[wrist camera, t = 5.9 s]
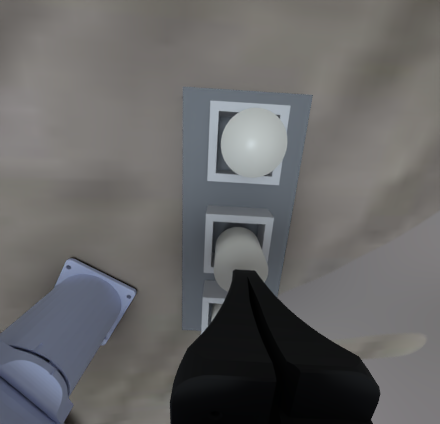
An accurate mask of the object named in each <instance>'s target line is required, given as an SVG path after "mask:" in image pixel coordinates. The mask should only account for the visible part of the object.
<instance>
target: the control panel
mask: <svg viewBox="0 0 440 424" xmlns="http://www.w3.org/2000/svg"><path fill="white" fill-rule="evenodd" d="M312 96H313V95H304V94H288V93H273V92H257V91H242V90H226V89H211V88H195V87H183V235H182V330H197V331H201V334H202V333H203V332H204V330H205V329H206V328H207V327H208V326H209V324H210V323H211V319H212V303H216V304H223V302H224V300H225V298H226V296H227V294H228V292H227V291H226V290H224V289H223V288H221V287H220V286H219V284H218V283H217V281H216V279H215V276H214V261H215V246H216V241H217V239H218V237H219V235H220V234H221V233H222V232H224V231H225V230H227V229H229V228H232V227H243V228H246V229H249V230H250V231H252V232H253V233H254V234H255V235H256V237H257V239H258V241H259V244H260V246H261V249H262V251H263V254H264V257H265V259H266V262H267V265H268V276H267V279H266V281H265V282H264V283H265V284H266V285H267V287H268V288H269V289H270V290H271V291H272V292H273V294H274V295H275V296H276V297H277V296H278V291H279V285H280V279H281V273H282V268H283V262H284V256H285V251H286V245H287V239H288V233H289V228H290V222H291V216H292V211H293V205H294V199H295V193H296V188H297V182H298V176H299V171H300V165H301V159H302V153H303V148H304V142H305V136H306V131H307V125H308V119H309V113H310V108H311V102H312ZM249 108H263V109H266V110H269V111H271V112H272V113H274V114H275V115H276V116H278V118H279V119H280V120H281V121H282V123H283V125H284V127H285V129H286V133H287V149H286V153H285V156H284V158H283V160H282V161H281V163H280V164H279V165H278V166H277V167H276V168H275V169H274V170H273V171H272V172H270V173H269V174H267V175H264V176H261V177H256V178H249V177H244V176H241V175H239V174H237V173H235V172H234V171H233V170H231V169H230V168H229V166H228V165H227V164H226V162H225V160H224V158H223V155H222V151H221V138H222V134H223V131H224V129H225V127H226V125H227V123H228V122H229V121H230V119H231V118H232V117H233V116H235V115H236V114H237V113H239V112H241V111H243V110H245V109H249Z"/></svg>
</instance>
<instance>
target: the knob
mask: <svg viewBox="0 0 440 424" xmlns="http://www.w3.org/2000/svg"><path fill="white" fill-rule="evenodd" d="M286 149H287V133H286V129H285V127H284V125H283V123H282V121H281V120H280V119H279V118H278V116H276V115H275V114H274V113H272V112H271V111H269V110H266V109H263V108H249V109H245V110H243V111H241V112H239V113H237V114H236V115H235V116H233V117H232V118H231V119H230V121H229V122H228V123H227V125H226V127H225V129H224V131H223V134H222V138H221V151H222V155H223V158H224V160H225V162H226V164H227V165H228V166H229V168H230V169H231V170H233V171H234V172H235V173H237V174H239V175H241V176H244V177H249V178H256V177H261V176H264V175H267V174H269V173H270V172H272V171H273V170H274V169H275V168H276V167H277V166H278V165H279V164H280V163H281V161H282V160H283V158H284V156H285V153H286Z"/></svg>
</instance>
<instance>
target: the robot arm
mask: <svg viewBox="0 0 440 424" xmlns="http://www.w3.org/2000/svg"><path fill="white" fill-rule="evenodd" d="M70 266H71V267H70ZM136 293H137V292H136V290H135V289H134V288H132V287H130V286H128V285H126V284H124V283H122V282H120V281H118V280H116V279H114V278H112V277H110V276H108V275H106V274H104V273H102V272H100V271H98V270H96V269H94V268H92V267H90V266H88V265H86V264H84V263H82V262H80V261H78V260H76V259H74V258H70V259H68V260H67V261H66V263H65V265H64V267H63V269H62V271H61V273H60V276H59V278H58V280H57V282H56V284H55V287H54V289H53V290H52V291H50V292H49V293H48V294H47V295H46V296H44V297H43V298H42V299H41V300H40V301H38V302H37V303H36V304H35V305H34V306H33V307H31V308H30V309H29V310H28V311H27V312H25V313H24V314H23V315H22V316H21V317H19V318H18V319H17V320H16V321H15V322H14V323H12V324H11V325H10V326H9V327H8V328H6V329H5V330H4V331H3V332H2V333H0V424H65V423H64V421H65V420H66V418H67V416H68V414H69V413H70V411H71V409H72V407H73V403H72V402H71V401H70V399H69V396H70V394H71V393H72V391H73V389H74V388H75V386H76V384H77V383H78V381H79V380H80V378H81V376H82V375H83V373H84V371H85V370H86V368H87V366H88V365H89V363H90V362H91V360H92V358H93V357H94V355H95V353H96V352H97V350H98V349H99V347H100V345H105V344H106V342H107V341H108V339H109V337H110V336H111V334H112V332H113V331H114V329H115V328H116V326H117V324H118V323H119V321H120V319H121V318H122V316H123V314H124V313H125V311H126V310H127V308H128V306H129V305H130V303H131V301H132V300H133V298H134V296H135V295H136ZM129 295H130V296H129ZM379 397H380V390H379V386H378V385H377V383H376V382H375V380H374V378H373V377H372V375H371V373H370V372H369V370H368V369H367V368H366V366H365V364H364V363H363V362H362V360H361V359H360V358H359V356H357V355H355V354H353V353H352V352H350V351H348V350H346V349H344V348H343V347H341V346H339V345H337V344H335V343H334V342H332V341H331V340H329V339H328V338H326V337H324V336H323V335H321V334H320V333H318V332H317V331H315V330H314V329H313V328H311V327H310V326H309V325H307V324H306V323H305V322H303V321H302V320H301V319H300V318H298V317H297V316H296V315H295V314H294V313H292V312H291V311H290V310H289V309H288V308H287V307H286V306H285V305H284V304H283V303H282V302H281V301H280V300H279V299H278V298H277V297H276V296H275V295H274V294H273V292H272V291H271V290H270V289H269V288H268V287H267V285H266V284H265V283H264V282H263V280H262V279H261V278H260V276H259V275H258V274H257V272H256V271H255V270H238V269H235V270H233V274H232V282H231V285H230V288H229V291H228V294H227V296H226V298H225V300H224V302H223V304H222V306H221V308H220V310H219V311H218V313H217V314H216V316H215V317H214V319H213V320H212V322H211V323H210V324H209V326H208V327H207V328H206V329H205V330H204V332H203V333H202V334H201V335H200V336H199V337H198V338H197V339H196V340H195V341H194V342H193V343H192V344H191V345H190V346H189V347H188V349H187V351H186V353H185V355H184V357H183V359H182V361H181V363H180V366H179V368H178V371H177V373H176V376H175V379H174V383H173V388H172V394H171V399H170V421H171V424H373V423H372V421H371V418H372V416H373V413H374V411H375V409H376V407H377V404H378V401H379Z"/></svg>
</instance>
